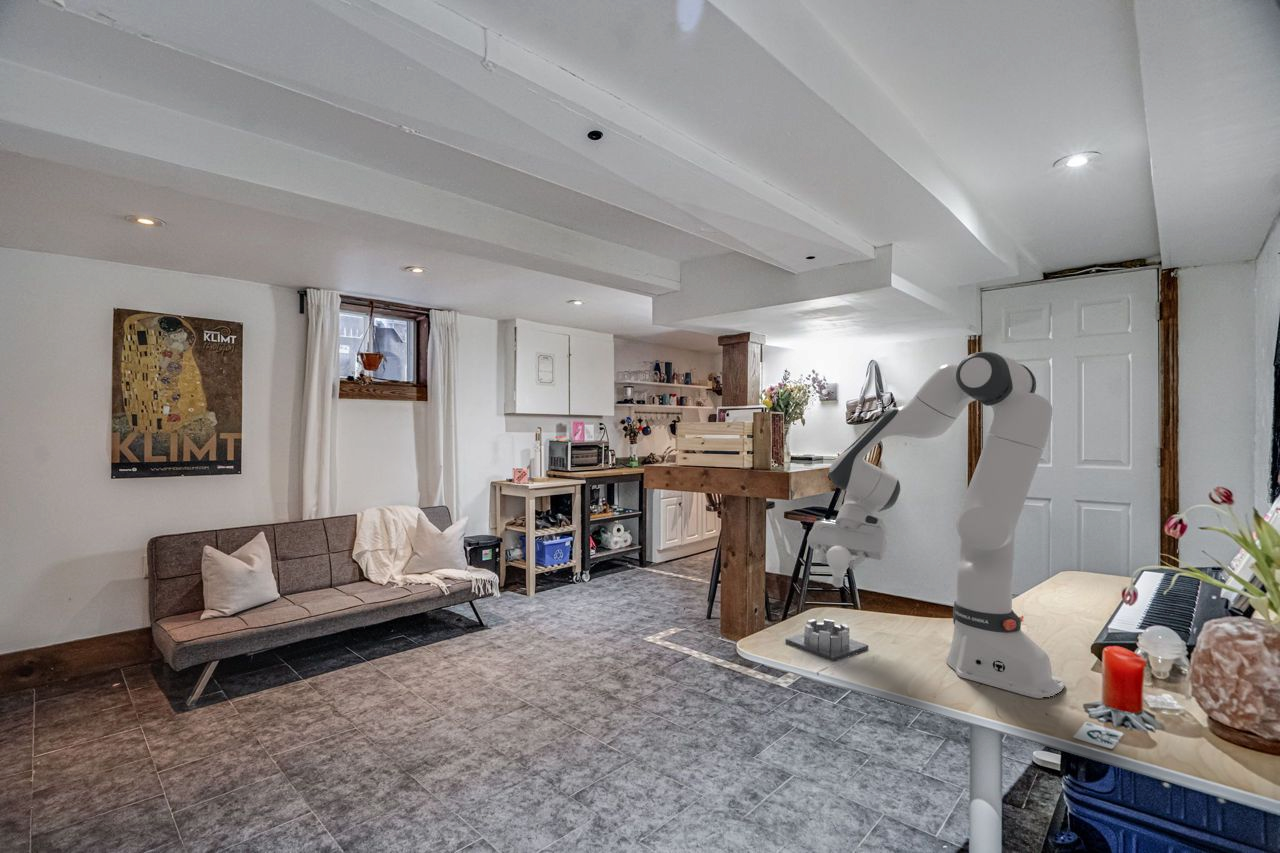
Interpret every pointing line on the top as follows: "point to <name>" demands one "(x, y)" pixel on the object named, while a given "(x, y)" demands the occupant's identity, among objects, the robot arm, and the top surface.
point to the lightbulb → (838, 563)
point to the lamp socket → (827, 640)
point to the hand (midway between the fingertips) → (837, 565)
